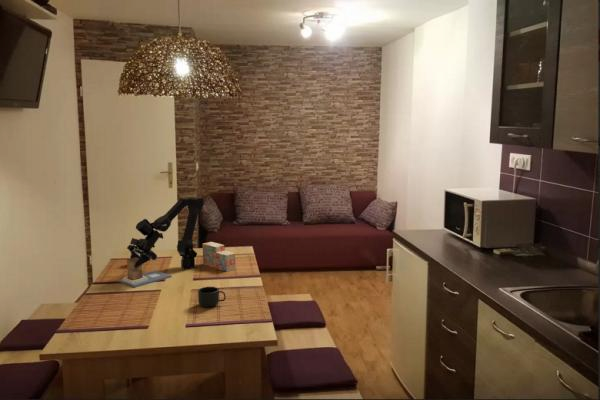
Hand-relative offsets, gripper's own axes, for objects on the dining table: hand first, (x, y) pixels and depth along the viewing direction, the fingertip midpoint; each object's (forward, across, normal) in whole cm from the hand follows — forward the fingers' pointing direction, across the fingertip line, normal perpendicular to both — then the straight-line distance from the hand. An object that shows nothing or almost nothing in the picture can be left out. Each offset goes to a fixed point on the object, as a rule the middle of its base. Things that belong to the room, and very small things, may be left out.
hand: (132, 266), depth 253 cm
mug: (+3, +54, +10) cm, 55 cm away
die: (-7, -25, +20) cm, 33 cm away
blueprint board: (+1, 0, +11) cm, 11 cm away
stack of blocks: (-26, +12, +39) cm, 49 cm away
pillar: (+4, 0, +6) cm, 7 cm away
